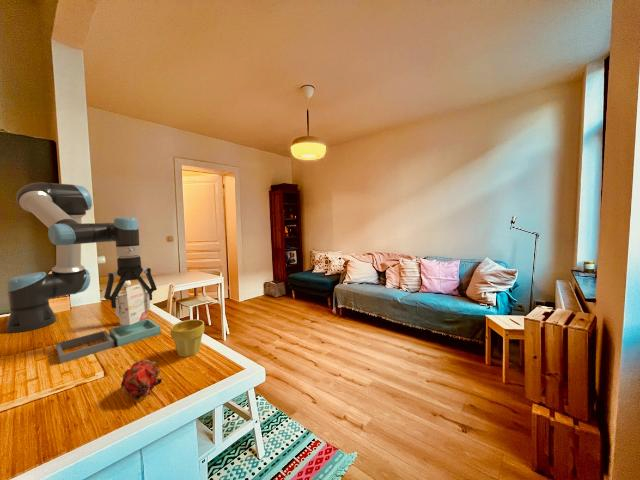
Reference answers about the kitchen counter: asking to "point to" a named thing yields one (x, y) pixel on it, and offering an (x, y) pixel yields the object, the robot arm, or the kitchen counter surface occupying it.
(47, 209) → the robot arm
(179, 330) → the plant pot
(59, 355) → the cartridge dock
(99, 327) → the kitchen counter surface
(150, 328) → the teal tray
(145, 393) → the dragon fruit
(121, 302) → the ink cartridge box
